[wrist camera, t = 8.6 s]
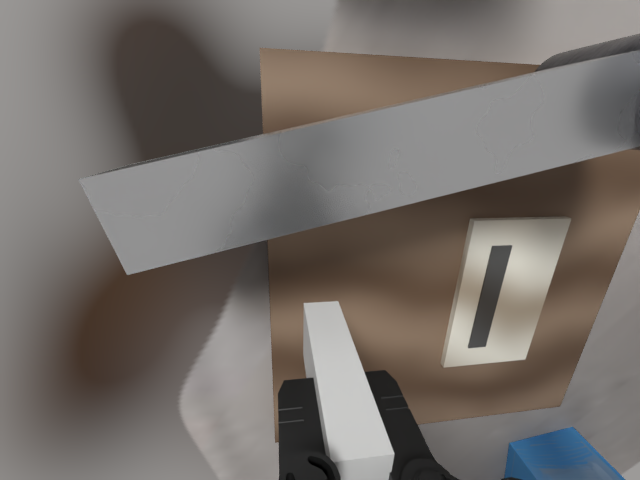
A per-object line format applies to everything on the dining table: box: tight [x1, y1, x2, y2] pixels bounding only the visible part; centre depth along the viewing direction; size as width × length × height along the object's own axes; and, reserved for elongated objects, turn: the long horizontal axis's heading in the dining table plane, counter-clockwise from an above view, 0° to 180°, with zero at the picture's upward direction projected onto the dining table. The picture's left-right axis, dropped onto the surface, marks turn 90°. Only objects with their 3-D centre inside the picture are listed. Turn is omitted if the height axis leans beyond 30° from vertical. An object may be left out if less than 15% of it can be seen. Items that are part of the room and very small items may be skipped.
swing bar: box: [78, 34, 640, 275], centre depth 11 cm, size 21×4×7 cm, turn 102°
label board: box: [260, 48, 640, 443], centre depth 19 cm, size 23×22×2 cm
